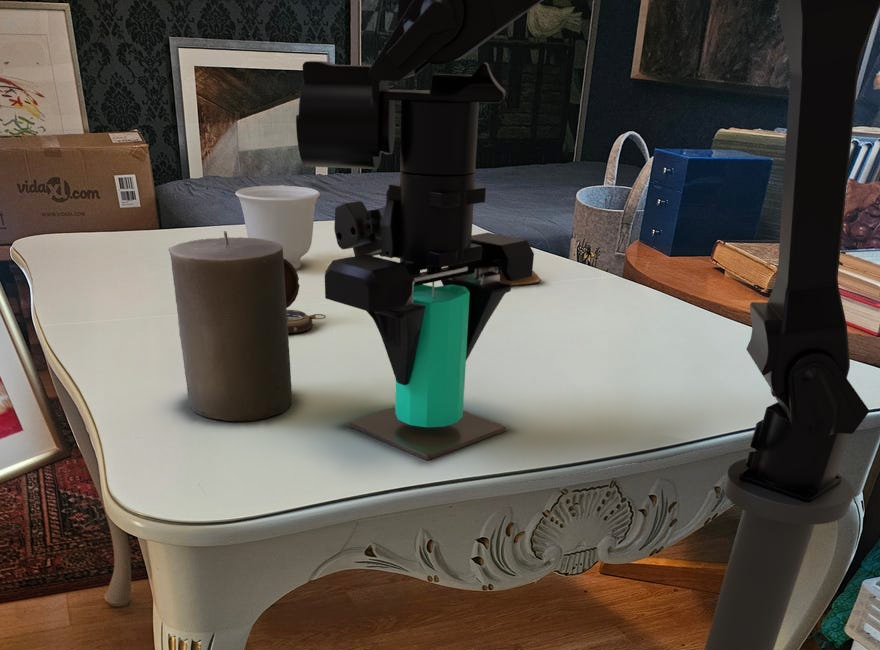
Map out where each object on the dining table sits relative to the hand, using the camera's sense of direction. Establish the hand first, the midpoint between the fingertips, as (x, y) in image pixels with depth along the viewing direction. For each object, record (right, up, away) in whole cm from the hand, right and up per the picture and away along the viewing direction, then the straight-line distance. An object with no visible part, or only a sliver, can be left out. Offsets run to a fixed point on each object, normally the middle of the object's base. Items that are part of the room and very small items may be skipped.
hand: (430, 375), depth 75 cm
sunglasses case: (+11, +32, +54) cm, 64 cm away
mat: (0, -4, +3) cm, 5 cm away
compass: (-16, +15, +29) cm, 36 cm away
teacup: (-20, +34, +56) cm, 68 cm away
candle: (0, -3, +2) cm, 4 cm away
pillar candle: (-18, -1, +7) cm, 19 cm away
